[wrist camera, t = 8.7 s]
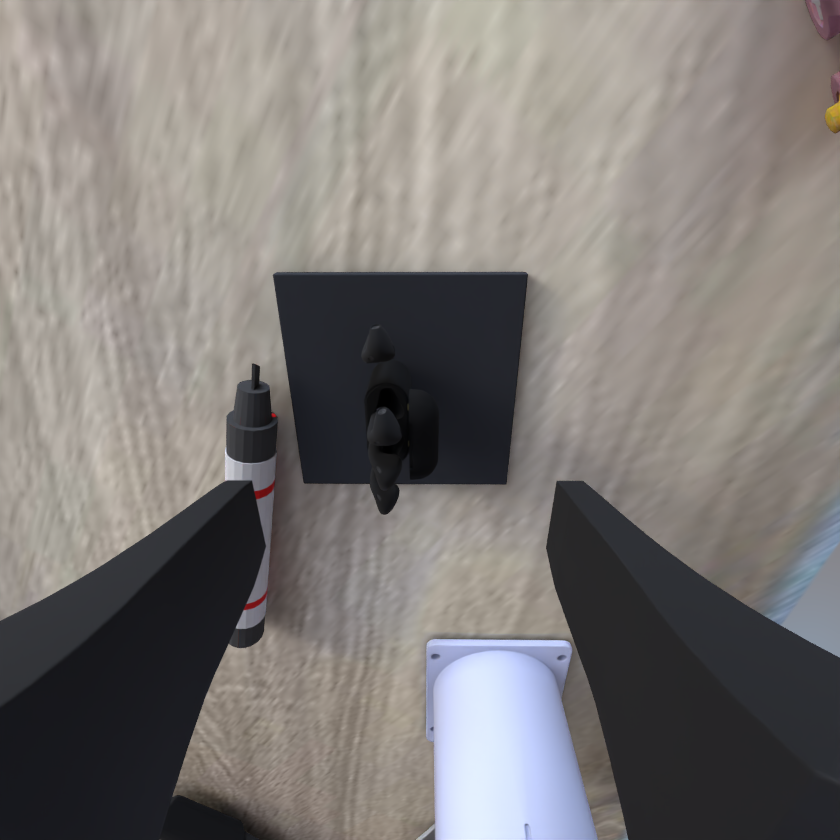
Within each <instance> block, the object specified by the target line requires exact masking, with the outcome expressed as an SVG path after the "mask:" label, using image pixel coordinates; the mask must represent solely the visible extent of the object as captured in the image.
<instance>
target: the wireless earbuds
mask: <svg viewBox="0 0 840 840" xmlns="http://www.w3.org/2000/svg"><path fill="white" fill-rule="evenodd" d="M394 356H395V348H394V345H393V343H392V341H391V339H390V337H389V335H388V333H387V332H386V330H385V329H384V328H383V327H382V326H381V325H380V324H374V325H372V326H371V327H370V331H369V335H368V337H367V340H366V342H365V345H364V347H363V350H362V354H361V357H362V359H363V361H364V362H365V363H378V362H380V363H379V364H377V365H376V366H375V368H374V369H373V371H372V374H371V377H370V381H369V384H368V388H367V391H366V395H365V398H364V405H365V420H366V435H367V450H368V456H369V460H370V463H371V465H372V469H371V474H370V487H371V490H372V493H373V495H374V497H375V500H376V503H377V506H378V509H379V511H380V513H381V514H383V515H386V514H388V513H389V512H390V511H391V510H392V509H393V507H394V506H395V504H396V502H397V499H398V497H399V488H398V486H397V485H396V484H395V482H396V481H397V479H398V477H399V475H400V472H401V469H402V461H403V460H404V459H405V458H406V457H407V455H408V454H409V467H410V469H409V470H410V480H417V479H423V478H425V477H427V476H429V475H430V474H431V473H432V472H433V471H434V469H435V468H436V466H437V463H438V447H439V408H438V405H437V403H436V401H435V399H434V398H433V397H432V396H431V395H430V394H428V393H427V392H425V391H422V390H417V389H411V374H410V371H409V370H408V368H407V367H406V366H405V365H404V364H403V363H402V362H400V361H398V360H394V359H393V358H394Z"/></svg>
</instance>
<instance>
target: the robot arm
mask: <svg viewBox="0 0 840 840" xmlns="http://www.w3.org/2000/svg"><path fill="white" fill-rule="evenodd" d="M265 549H266V543H265V539H264V534H263V529H262V525H261V520H260V515H259V511H258V506H257V501H256V496H255V492H254V487H253V482H252V480H226V481H225V482H223V483H222V484H220V485H218V486H217V487H215V488H214V489H212V490H211V491H210V492H208V493H207V494H205V495H204V496H203V497H201V498H200V499H198V500H197V501H196V502H194V503H193V504H191V505H190V506H189V507H187V508H186V509H185V510H183V511H182V512H180V513H179V514H178V515H176V516H175V517H173V518H172V519H170V520H169V521H168V522H166V523H165V524H163V525H162V526H161V527H159V528H158V529H156V530H155V531H154V532H152V533H151V534H149V535H148V536H146V537H145V538H143V539H142V540H140V541H139V542H137V543H136V544H134V545H133V546H131V547H130V548H128V549H126V550H125V551H123V552H122V553H120V554H119V555H117V556H116V557H114V558H113V559H111V560H110V561H108V562H107V563H105V564H104V565H102V566H100V567H99V568H97V569H95V570H94V571H92V572H90V573H89V574H87V575H85V576H84V577H82V578H80V579H79V580H77V581H75V582H73V583H72V584H70V585H68V586H66V587H65V588H63V589H61V590H59V591H57V592H56V593H54V594H52V595H50V596H49V597H47V598H45V599H43V600H41V601H39V602H37V603H35V604H33V605H31V606H29V607H27V608H25V609H23V610H21V611H19V612H17V613H15V614H13V615H11V616H9V617H7V618H5V619H3V620H1V621H0V840H159V839H160V836H161V832H162V829H163V826H164V822H165V819H166V815H167V812H168V808H169V805H170V802H171V799H172V795H173V792H174V789H175V786H176V783H177V780H178V777H179V774H180V770H181V767H182V764H183V761H184V758H185V755H186V752H187V748H188V745H189V743H190V740H191V737H192V734H193V731H194V728H195V725H196V722H197V719H198V716H199V713H200V711H201V708H202V705H203V702H204V699H205V697H206V694H207V692H208V689H209V687H210V684H211V682H212V679H213V677H214V675H215V672H216V670H217V668H218V666H219V664H220V661H221V659H222V657H223V655H224V653H225V650H226V648H227V646H228V644H229V642H230V639H231V637H232V635H233V633H234V631H235V628H236V626H237V624H238V622H239V619H240V617H241V615H242V613H243V611H244V608H245V606H246V604H247V602H248V599H249V597H250V595H251V592H252V590H253V588H254V585H255V582H256V579H257V576H258V573H259V570H260V566H261V563H262V559H263V556H264V552H265ZM546 549H547V554H548V558H549V563H550V568H551V572H552V577H553V581H554V585H555V589H556V592H557V595H558V597H559V600H560V603H561V606H562V609H563V612H564V614H565V617H566V620H567V623H568V626H569V628H570V631H571V634H572V637H573V639H574V642H575V645H576V648H577V650H578V653H579V656H580V659H581V662H582V664H583V667H584V670H585V673H586V675H587V678H588V681H589V684H590V687H591V691H592V694H593V697H594V700H595V703H596V707H597V711H598V715H599V719H600V723H601V726H602V730H603V734H604V738H605V742H606V746H607V750H608V754H609V758H610V762H611V766H612V770H613V774H614V779H615V783H616V787H617V791H618V795H619V800H620V804H621V808H622V812H623V817H624V821H625V826H626V830H627V835H628V839H629V840H840V658H839V657H837V656H835V655H833V654H832V653H830V652H828V651H826V650H824V649H822V648H820V647H818V646H816V645H814V644H813V643H811V642H809V641H807V640H805V639H803V638H802V637H800V636H798V635H796V634H795V633H793V632H791V631H789V630H788V629H786V628H784V627H782V626H781V625H779V624H777V623H775V622H773V621H772V620H770V619H768V618H767V617H765V616H763V615H762V614H760V613H758V612H757V611H755V610H753V609H752V608H750V607H748V606H747V605H745V604H743V603H742V602H740V601H739V600H737V599H736V598H734V597H733V596H731V595H730V594H728V593H726V592H725V591H723V590H722V589H720V588H719V587H717V586H716V585H714V584H713V583H711V582H710V581H708V580H707V579H705V578H704V577H702V576H701V575H699V574H698V573H697V572H695V571H694V570H692V569H691V568H690V567H688V566H687V565H686V564H684V563H683V562H682V561H680V560H679V559H677V558H676V557H675V556H673V555H672V554H671V553H669V552H668V551H667V550H665V549H664V548H663V547H662V546H660V545H659V544H658V543H657V542H655V541H654V540H653V539H651V538H650V537H649V536H648V535H646V534H645V533H644V532H643V531H642V530H640V529H639V528H638V527H637V526H636V525H634V524H633V523H632V522H631V521H630V520H628V519H627V518H626V517H625V516H624V515H622V514H621V513H620V512H619V511H618V510H617V509H616V508H614V507H613V506H612V505H611V504H610V503H609V502H607V501H606V500H605V499H604V498H603V497H602V496H600V495H599V494H598V493H597V492H596V491H595V490H593V489H592V488H591V487H590V486H589V485H587V484H586V483H585V482H584V481H557V483H556V489H555V495H554V502H553V508H552V514H551V521H550V527H549V533H548V540H547V546H546ZM571 655H572V647H571V644H570V643H569V642H567V641H564V640H481V639H432V640H430V641H429V642H428V643H427V668H426V738H427V740H429V741H431V742H434V783H435V840H598V838H597V834H596V831H595V827H594V823H593V819H592V815H591V811H590V808H589V804H588V800H587V796H586V792H585V788H584V785H583V781H582V777H581V773H580V769H579V766H578V762H577V758H576V754H575V750H574V746H573V743H572V739H571V735H570V731H569V727H568V723H567V720H566V716H565V712H564V708H563V704H562V700H561V698H562V694H563V689H564V685H565V681H566V676H567V672H568V668H569V664H570V659H571Z"/></svg>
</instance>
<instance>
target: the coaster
mask: <svg viewBox="0 0 840 840" xmlns="http://www.w3.org/2000/svg"><path fill="white" fill-rule="evenodd" d="M273 278H274V284H275V291H276V298H277V305H278V311H279V318H280V325H281V332H282V339H283V345H284V352H285V359H286V366H287V372H288V379H289V386H290V393H291V399H292V406H293V413H294V420H295V427H296V433H297V440H298V447H299V454H300V460H301V467H302V474H303V481H304V483H318V484H370V474H371V469H372V465H371V463H370V460H369V456H368V450H367V435H366V420H365V405H364V398H365V395H366V391H367V388H368V384H369V381H370V377H371V374H372V371H373V369H374V368H375V366H376V365H377V364H379V363H380V362H378V363H365V362H364V361H363V359H362V357H361V354H362V350H363V347H364V345H365V342H366V340H367V337H368V335H369V331H370V327H371V326H372V325H374V324H380V325H381V326H382V327H383V328H384V329H385V330H386V332H387V333H388V335H389V337H390V339H391V341H392V343H393V345H394V348H395V356H394V358H393V359H394V360H398V361H400V362H402V363H403V364H404V365H405V366H406V367H407V368H408V370H409V371H410V374H411V389H417V390H422V391H425V392H427V393H428V394H430V395H431V396H432V397H433V398H434V399H435V401H436V403H437V405H438V408H439V447H438V463H437V466H436V468H435V469H434V471H433V472H432V473H431V474H430V475H429V476H427V477H425V478H423V479H417V480H410V470H409V469H410V467H409V454H408V455H407V457H406V458H405V459H404V460H403V461H402V469H401V472H400V475H399V477H398V479H397V481H396V482H395V484H506V483H507V474H508V464H509V454H510V444H511V435H512V425H513V415H514V405H515V396H516V386H517V376H518V366H519V356H520V347H521V337H522V327H523V317H524V308H525V298H526V288H527V278H528V274H527V273H526V272H277V273H275V274H273Z"/></svg>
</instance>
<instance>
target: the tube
mask: <svg viewBox="0 0 840 840" xmlns="http://www.w3.org/2000/svg"><path fill="white" fill-rule="evenodd" d="M416 840H435V823H434V824H433V825H432V826H431V827H430V828H429V829H428V830H426V831H425V832H424V833H423V834H422V835H421V836H420V837H419V838H417V839H416Z"/></svg>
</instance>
